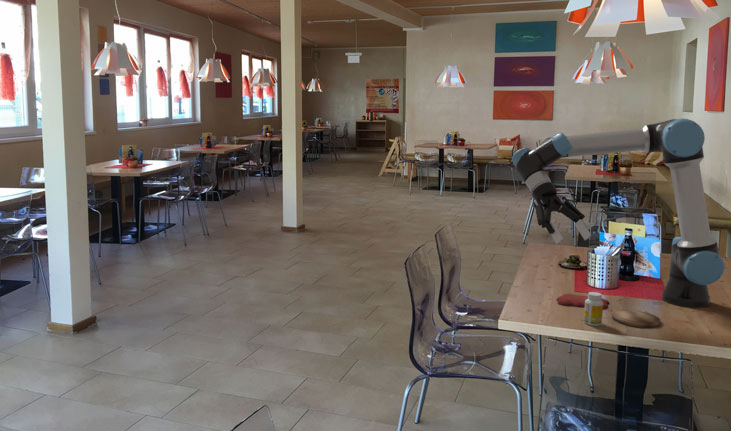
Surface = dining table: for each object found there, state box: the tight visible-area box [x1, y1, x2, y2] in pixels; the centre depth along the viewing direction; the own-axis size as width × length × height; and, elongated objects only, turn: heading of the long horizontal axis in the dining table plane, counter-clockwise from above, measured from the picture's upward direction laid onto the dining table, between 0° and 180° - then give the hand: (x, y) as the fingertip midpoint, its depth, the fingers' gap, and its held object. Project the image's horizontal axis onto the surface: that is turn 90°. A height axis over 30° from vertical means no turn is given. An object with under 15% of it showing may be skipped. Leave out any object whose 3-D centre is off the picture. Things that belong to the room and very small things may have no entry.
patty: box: [556, 293, 610, 310], centre depth 216 cm, size 18×14×2 cm
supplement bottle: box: [583, 291, 604, 327], centre depth 193 cm, size 5×5×10 cm
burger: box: [557, 250, 588, 270], centre depth 268 cm, size 12×12×8 cm
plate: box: [611, 309, 661, 329], centre depth 197 cm, size 14×14×1 cm
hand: (574, 239), depth 198 cm, fingers open, 13 cm apart
